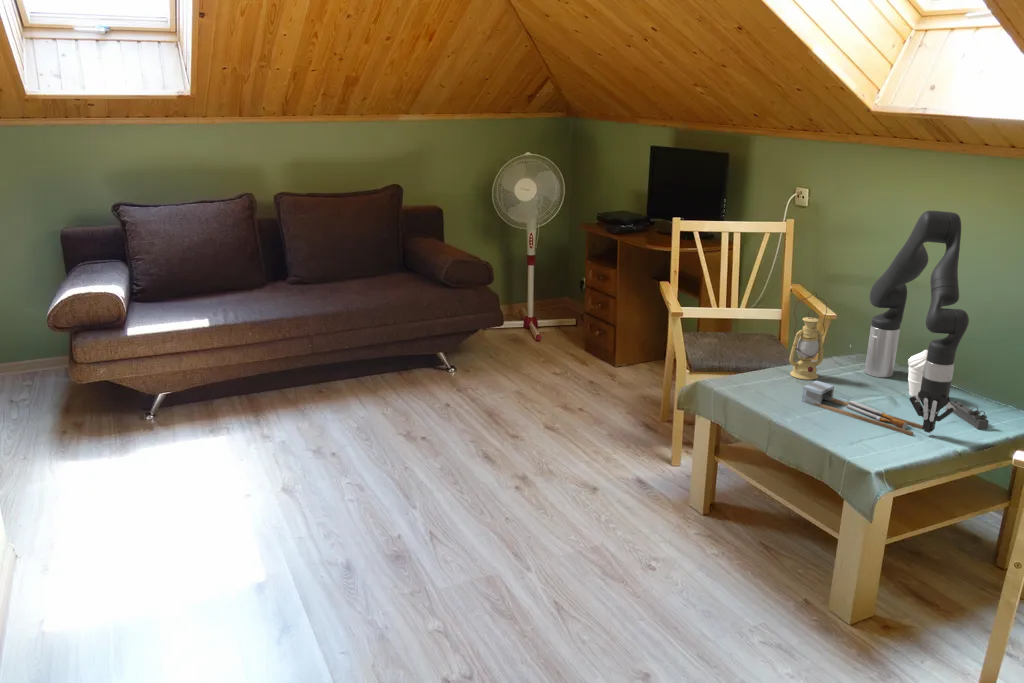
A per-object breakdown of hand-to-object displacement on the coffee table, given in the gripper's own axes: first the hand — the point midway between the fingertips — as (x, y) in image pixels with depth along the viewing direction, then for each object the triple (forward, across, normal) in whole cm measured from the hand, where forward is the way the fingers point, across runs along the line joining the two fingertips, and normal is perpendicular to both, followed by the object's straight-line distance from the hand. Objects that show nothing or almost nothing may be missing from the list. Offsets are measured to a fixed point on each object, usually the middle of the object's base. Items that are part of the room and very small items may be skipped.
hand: (927, 431), depth 239 cm
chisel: (+2, +16, -1) cm, 16 cm away
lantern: (+1, +50, -18) cm, 53 cm away
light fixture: (+2, -3, -21) cm, 21 cm away
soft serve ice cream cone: (+1, +16, -29) cm, 33 cm away
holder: (+1, +21, 0) cm, 21 cm away
